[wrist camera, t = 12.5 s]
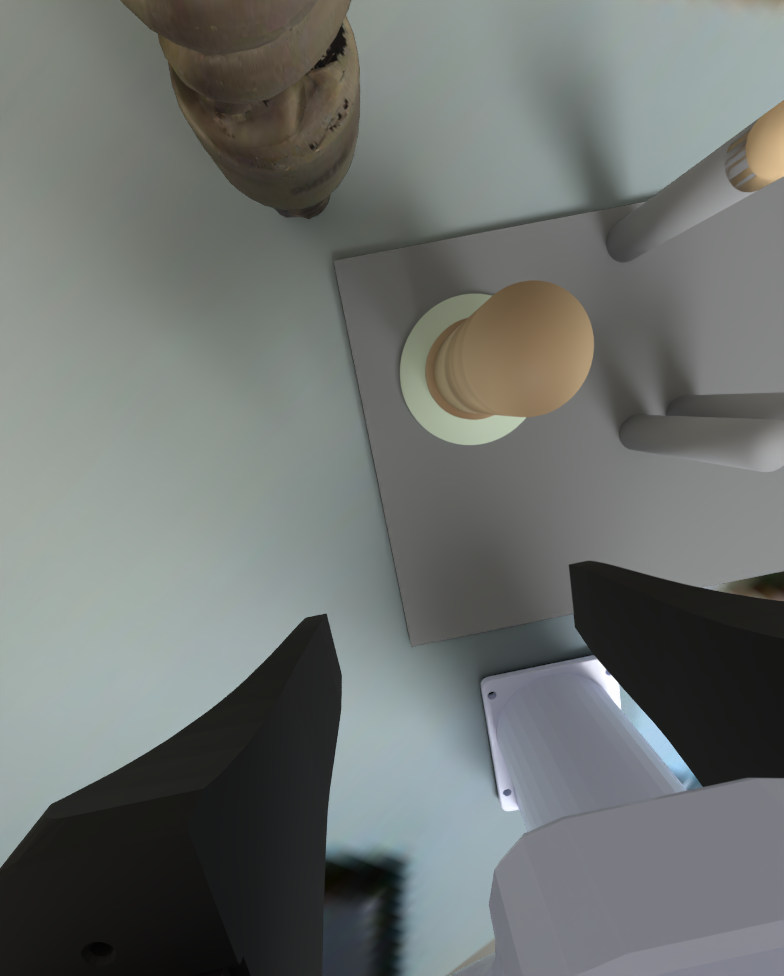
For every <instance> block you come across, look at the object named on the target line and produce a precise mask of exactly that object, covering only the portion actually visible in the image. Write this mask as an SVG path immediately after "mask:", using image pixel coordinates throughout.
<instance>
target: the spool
mask: <svg viewBox="0 0 784 976" xmlns="http://www.w3.org/2000/svg"><path fill="white" fill-rule="evenodd" d="M593 352H594V336H593V330H592V326H591V322H590V320H589V317H588V315H587V313H586V311H585V309H584V308H583V306H582V305H581V303H580V302H579V301H578V300H577V299H576V298H575V297H574V296H573V295H572V294H571V293H570V292H568V291H567V290H565V289H564V288H562V287H560V286H558V285H556V284H553V283H550V282H545V281H537V280H530V281H522V282H518V283H515V284H512V285H510V286H507V287H505V288H503V289H502V290H500V291H498V292H497V293H496V294H494V295H493V296H492V297H491V298H489V299H488V300H487V301H486V302H485V303H484V304H483V305H482V306H481V307H479V308H478V309H477V310H476V311H475V312H474V313H473V314H472V315H471V316H470V317H468V318H465V319H462V320H460V321H457V322H455V323H454V324H452V325H450V326H449V327H448V328H446V329H445V330H444V331H443V332H442V333H441V334H440V335H439V336H438V337H437V339H436V340H435V341H434V343H433V345H432V346H431V348H430V351H429V353H428V356H427V360H426V366H425V376H426V382H427V386H428V389H429V392H430V394H431V396H432V398H433V399H434V400H435V402H436V403H437V404H438V405H439V406H440V407H441V408H442V409H443V410H444V411H446V412H447V413H449V414H451V415H453V416H455V417H459V418H462V419H469V420H478V419H485V418H488V417H491V416H494V415H500V416H513V417H535V416H540V415H544V414H547V413H549V412H552V411H554V410H556V409H557V408H559V407H561V406H562V405H564V404H565V403H566V402H568V401H569V400H570V399H571V398H572V397H573V396H574V395H575V394H576V392H577V391H578V390H579V389H580V387H581V386H582V384H583V383H584V381H585V379H586V377H587V375H588V372H589V370H590V367H591V363H592V359H593Z"/></svg>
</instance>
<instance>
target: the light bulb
mask: <svg viewBox="0 0 784 976" xmlns="http://www.w3.org/2000/svg"><path fill="white" fill-rule="evenodd" d="M121 1H122V3H123V4H124V5H125V6H126V7H127V8H128V9H130V10H131V11H132V12H133V13H134V14H135V15H136V16H137V17H138V18H139V19H140V20H141V21H142V22H143V23H144V24H146V25H147V26H148V27H149V28H150V29H151V30H153V31H154V32H156V33H158V37H159V42H160V45H161V48H162V50H163V53H164V55H165V57H166V59H167V60H168V64H169V70H170V75H171V81H172V86H173V89H174V92H175V95H176V98H177V101H178V104H179V107H180V109H181V111H182V113H183V114H184V116H185V118H186V120H187V121H188V123H189V125H190V126H191V128H192V129H193V131H194V133H195V134H196V136H197V138H198V139H199V141H200V142H201V144H202V146H203V147H204V149H205V150H206V151H207V152H208V153H209V155H210V156H211V157H212V159H213V160H214V162H215V163H216V164H217V166H218V167H219V168H220V170H221V171H222V172H223V174H224V175H225V176H226V178H227V179H228V180H229V182H230V183H231V184H232V185H234V186H235V187H236V188H237V189H238V190H239V191H241V192H242V193H243V194H245V195H246V196H248V197H249V198H251V199H253V200H255V201H257V202H259V203H261V204H263V205H266V206H269V207H272V208H275V209H276V210H277V211H278V212H279V213H280V214H281V215H283V216H284V217H304V218H308V219H310V218H312V217H314V216H317V215H318V214H319V213H321V212H322V211H323V210H324V208H325V207H326V205H327V204H328V201H329V198H330V195H331V193H332V192H333V191H334V190H335V189H336V188H337V187H338V186H339V184H340V183H341V181H342V179H343V178H344V176H345V175H346V173H347V171H348V169H349V167H350V165H351V162H352V159H353V156H354V151H355V146H356V142H357V137H358V126H359V117H360V82H359V76H360V67H359V60H358V53H357V47H356V43H355V38H354V34H353V31H352V29H351V26H350V24H349V21H348V19H347V17H346V14H347V12H348V9H349V6H350V3H351V0H121Z"/></svg>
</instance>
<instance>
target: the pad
mask: <svg viewBox="0 0 784 976" xmlns="http://www.w3.org/2000/svg"><path fill="white" fill-rule="evenodd" d="M491 297H492V295H486V294H463V295H459V296H455V297H452V298H449V299H447V300H445V301H442V302H441V303H439V304H437V305H436V306H434V307H433V308H432V309H430V310H429V311H428V312H427V313H426V314H425V315H424V316H423V317H422V318H421V319H420V320H419V321H418V322H417V324H416V325H415V326H414V328H413V329H412V331H411V333H410V335H409V336H408V338H407V341H406V343H405V346H404V348H403V352H402V356H401V362H400V383H401V389H402V393H403V397H404V399H405V402H406V404H407V406H408V408H409V410H410V412H411V413H412V415H413V416H414V418H415V419H416V420H417V421H418V422H419V423H420V425H421V426H422V427H423V428H425V429H426V430H427V431H428V432H430V433H431V434H433V435H435V436H436V437H438V438H440V439H443V440H445V441H447V442H451V443H455V444H461V445H479V444H485V443H488V442H492V441H495V440H497V439H499V438H501V437H503V436H505V435H507V434H509V433H510V432H511V431H513V430H514V429H515V428H517V427H518V426H519V425H520V424H521V423H522V422H523V421H524V420H525V418H526V417H513V416H500V415H494V416H491V417H488V418H485V419H478V420H469V419H462V418H459V417H455V416H453V415H451V414H449V413H447V412H446V411H444V410H443V409H442V408H441V407H440V406H439V405H438V404H437V403H436V402H435V400H434V399H433V398H432V396H431V394H430V392H429V389H428V386H427V382H426V376H425V366H426V360H427V356H428V353H429V351H430V348H431V346H432V345H433V343H434V341H435V340H436V339H437V337H438V336H439V335H440V334H441V333H442V332H443V331H444V330H445V329H446V328H448V327H449V326H450V325H452V324H454V323H455V322H457V321H460V320H462V319H465V318H468V317H470V316H471V315H472V314H473V313H474V312H475V311H476V310H477V309H478V308H479V307H481V306H482V305H483V304H484V303H485V302H486V301H487V300H488V299H489V298H491Z"/></svg>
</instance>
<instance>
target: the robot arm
mask: <svg viewBox="0 0 784 976" xmlns="http://www.w3.org/2000/svg"><path fill="white" fill-rule="evenodd" d="M569 572H570V582H571V592H572V602H573V612H574V622H575V628H576V629H577V631H578V632H579V634H580V635H581V637H582V638H583V640H584V641H585V643H586V644H587V646H588V647H589V649H590V650H591V652H592V653H593V654H594V655H591V656H587V657H582V658H577V659H572V660H567V661H562V662H557V663H552V664H548V665H543V666H538V667H533V668H528V669H523V670H518V671H514V672H509V673H504V674H499V675H494V676H489V677H486V678H484V679H483V680H482V682H481V691H482V697H483V703H484V709H485V715H486V721H487V728H488V734H489V740H490V746H491V752H492V758H493V764H494V770H495V776H496V782H497V789H498V795H499V801H500V804H501V807H502V809H503V810H505V811H513V810H518V809H519V810H520V813H521V816H522V818H523V821H524V824H525V827H526V829H527V833H524V834H523V835H522V837H521V838H520V839H519V840H518V841H517V842H516V843H515V845H514V846H513V847H512V848H511V849H510V850H509V851H508V853H507V854H506V855H505V856H504V857H503V858H502V859H501V861H500V862H499V863H498V865H497V866H496V868H495V870H494V876H493V882H492V888H491V895H490V901H489V908H490V914H491V919H492V924H493V930H494V935H495V950H496V951H495V952H493V953H491V954H489V955H487V956H485V957H484V958H481V959H480V960H478V961H476V962H474V963H472V964H470V965H468V966H466V967H464V968H462V969H460V970H458V971H456V972H454V973H452V974H450V975H448V976H784V601H776V600H768V599H761V598H754V597H748V596H742V595H736V594H730V593H724V592H719V591H714V590H709V589H704V588H700V587H695V586H691V585H687V584H682V583H678V582H674V581H670V580H666V579H662V578H658V577H655V576H651V575H647V574H643V573H640V572H636V571H632V570H629V569H625V568H621V567H618V566H614V565H610V564H606V563H602V562H597V561H590V560H589V561H584V562H579V563H574V564H569ZM606 670H607V671H606ZM619 684H620V685H621V686H622V688H623V689H624V690H625V691H626V692H627V693H628V694H629V695H630V697H631V698H632V699H633V700H634V701H635V702H636V703H637V704H638V705H639V707H640V708H641V709H642V710H643V711H644V712H645V713H646V714H647V715H648V717H649V718H650V719H651V720H652V721H653V722H654V723H655V724H656V726H657V727H658V728H659V729H660V730H661V732H662V733H663V734H664V735H665V737H666V738H667V739H668V740H669V742H670V743H671V744H672V746H673V747H674V748H675V750H676V751H677V752H678V754H679V755H680V756H681V758H682V759H683V760H684V762H685V763H686V764H687V766H688V767H689V768H690V770H691V771H692V772H693V774H694V775H695V776H696V778H697V779H698V781H699V782H700V783H701V785H702V786H703V787H702V788H697V789H692V790H687V789H686V788H685V787H684V786H683V785H682V783H681V782H680V781H679V780H678V779H677V777H676V776H675V775H674V774H673V772H672V771H671V770H670V769H669V768H668V766H667V765H666V764H665V763H664V762H663V760H662V759H661V758H660V757H659V755H658V754H657V753H656V752H655V751H654V749H653V748H652V747H651V746H650V745H649V743H648V742H647V741H646V740H645V738H644V737H643V736H642V735H641V734H640V732H639V731H638V730H637V729H636V728H635V726H634V725H633V724H632V723H631V722H630V720H629V719H628V718H627V717H626V715H625V714H624V713H623V712H622V711H621V702H620V690H619ZM490 692H494V693H493V694H491V695H488V694H489V693H490ZM341 696H342V674H341V670H340V666H339V662H338V658H337V654H336V650H335V646H334V642H333V638H332V634H331V630H330V626H329V622H328V618H327V614H322V615H317V616H312V617H307V618H305V619H304V620H303V621H302V622H301V623H300V624H299V625H298V626H297V627H296V628H295V629H294V630H293V631H292V632H291V634H290V635H289V636H288V637H287V638H286V639H285V640H284V641H283V642H282V643H281V644H280V646H279V647H278V648H277V649H276V650H275V651H274V652H273V653H272V654H271V655H270V656H269V657H268V658H267V659H266V660H265V661H264V662H263V663H262V664H261V665H260V666H259V667H258V668H257V669H256V670H255V671H254V672H253V673H252V674H251V675H250V676H249V677H248V678H247V679H246V680H245V681H244V682H243V683H242V684H240V685H239V686H238V687H237V688H236V689H235V690H234V691H232V692H231V693H230V694H229V695H228V696H227V697H225V698H224V699H223V700H222V701H220V702H219V703H218V704H217V705H215V706H214V707H213V708H212V709H210V710H209V711H208V712H206V713H205V714H204V715H202V716H201V717H199V718H198V719H197V720H195V721H194V722H192V723H191V724H190V725H188V726H187V727H185V728H184V729H182V730H181V731H180V732H178V733H177V734H175V735H174V736H173V737H171V738H170V739H168V740H166V741H165V742H163V743H162V744H160V745H159V746H157V747H155V748H154V749H152V750H151V751H149V752H147V753H146V754H144V755H142V756H141V757H139V758H137V759H136V760H134V761H132V762H130V763H129V764H127V765H125V766H124V767H122V768H120V769H118V770H116V771H115V772H113V773H111V774H109V775H107V776H105V777H103V778H101V779H100V780H98V781H96V782H94V783H92V784H90V785H88V786H86V787H84V788H82V789H80V790H78V791H76V792H75V793H73V794H71V795H69V796H67V797H65V798H63V799H61V800H59V801H57V802H55V803H53V804H51V805H50V806H49V807H48V809H47V810H46V811H45V812H44V814H43V815H42V816H41V817H40V819H39V820H38V821H37V822H36V824H35V825H34V826H33V827H32V829H31V830H30V831H29V833H28V834H27V835H26V836H25V838H24V839H23V840H22V841H21V843H20V844H19V845H18V846H17V848H16V849H15V850H14V851H13V853H12V854H11V855H10V856H9V858H8V859H7V860H6V862H5V863H4V864H3V865H2V867H1V868H0V976H322V954H323V909H324V880H325V853H326V833H327V813H328V802H329V792H330V785H331V778H332V771H333V764H334V757H335V750H336V743H337V736H338V729H339V721H340V714H341Z"/></svg>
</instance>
